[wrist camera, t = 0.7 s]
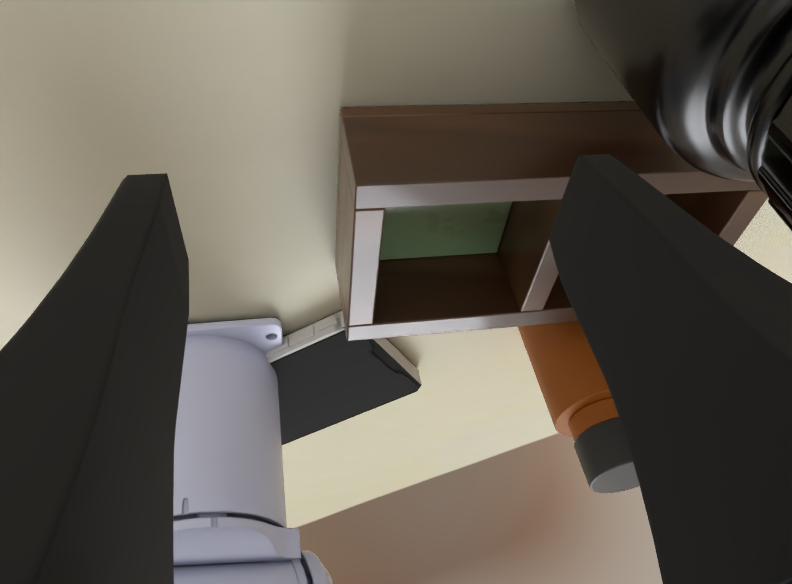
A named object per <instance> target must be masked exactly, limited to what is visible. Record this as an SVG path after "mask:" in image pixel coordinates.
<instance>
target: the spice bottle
mask: <svg viewBox="0 0 792 584" xmlns="http://www.w3.org/2000/svg"><path fill="white" fill-rule="evenodd" d="M518 329H519V331H520V334H521V337H522V339H523V342H524V345H525V348H526V350H527V353H528V356H529V358H530V361H531V364H532V366H533V369H534V372H535V375H536V377H537V380H538V383H539V385H540V388H541V391H542V393H543V396H544V399H545V402H546V404H547V407H548V410H549V412H550V415H551V418H552V421H553V423H554V426H555V428H556V430H557V431H558V432H559V433H560V434H562V435H565V436H569V437H573V438H574V441H575V443H574V447H575V450H576V452H577V455H578V458H579V460H580V463H581V466H582V468H583V471H584V473H585V476H586V479H587V481H588V484H589V486H590V488H591V489H592V490H593V491H595V492H599V493H613V492H620V491H625V490H628V489H632V488H635V487H638V486H640V484H639V481H638V478H637V474H636V471H635V467H634V464H633V460H632V457H631V454H630V450H629V447H628V443H627V440H626V437H625V434H624V431H623V428H622V425H621V422H620V419H619V416H618V413H617V410H616V407H615V404H614V400H613V398H612V395H611V393H610V390H609V388H608V385H607V383H606V380H605V378H604V376H603V373H602V371H601V369H600V367H599V365H598V362H597V360H596V358H595V356H594V354H593V351H592V349H591V347H590V345H589V343H588V341H587V338H586V336H585V334H584V332H583V330H582V328H581V325H580V323H579V321H573V322H561V323H550V324H538V325H527V326H518Z"/></svg>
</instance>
